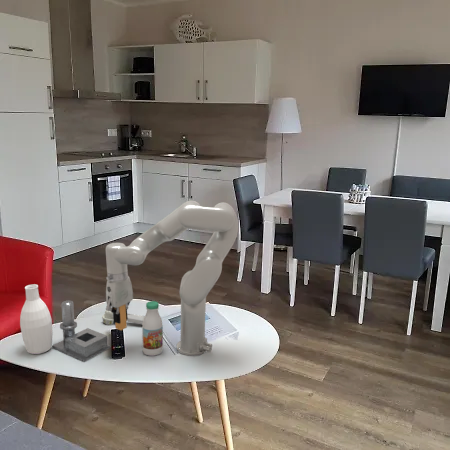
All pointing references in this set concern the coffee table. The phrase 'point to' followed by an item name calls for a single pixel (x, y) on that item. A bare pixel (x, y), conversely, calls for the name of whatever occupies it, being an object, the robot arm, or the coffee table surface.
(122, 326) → the orange rectangular block
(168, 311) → the coffee table surface
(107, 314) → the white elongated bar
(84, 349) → the square socket base
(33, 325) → the bottle
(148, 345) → the milk bottle
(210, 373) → the coffee table surface
